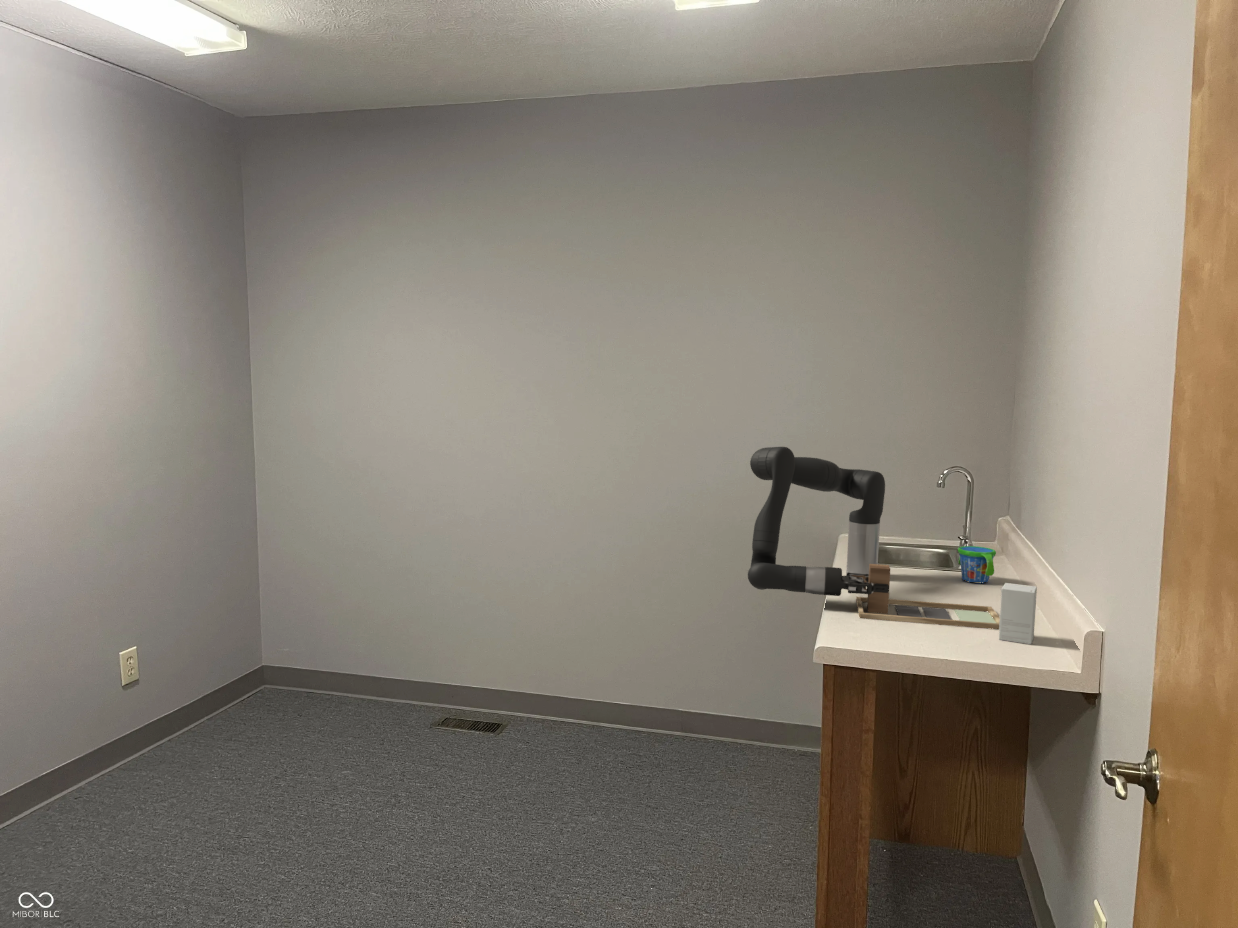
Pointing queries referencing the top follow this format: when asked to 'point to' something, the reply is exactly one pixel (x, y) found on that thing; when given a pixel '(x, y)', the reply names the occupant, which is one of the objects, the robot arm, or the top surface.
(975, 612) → the pad
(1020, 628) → the supplement box
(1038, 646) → the top surface
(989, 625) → the tray
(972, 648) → the top surface
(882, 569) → the walnut block
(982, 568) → the snack cup
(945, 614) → the trap squares
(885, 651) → the top surface
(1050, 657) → the top surface
